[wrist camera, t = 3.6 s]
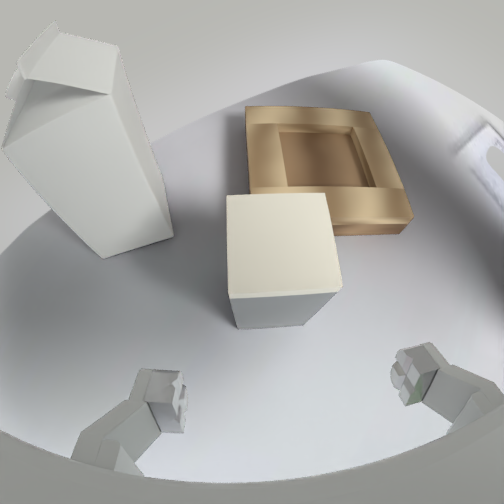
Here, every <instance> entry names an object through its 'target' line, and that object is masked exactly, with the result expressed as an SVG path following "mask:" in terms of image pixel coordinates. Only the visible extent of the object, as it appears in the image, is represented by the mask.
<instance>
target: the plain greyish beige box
mask: <svg viewBox="0 0 504 504" xmlns="http://www.w3.org/2000/svg"><path fill="white" fill-rule="evenodd" d="M226 202H227V265H228V295H229V299H230V302H231V306H232V310H233V314H234V317H235V321H236V325H237V329H259V328H275V327H289V326H301V325H304V324H305V323H306V322H307V321H308V320H309V319H310V318H312V317H313V316H314V315H315V314H316V313H317V312H318V311H319V310H320V309H321V308H322V307H323V306H324V305H325V304H326V303H327V302H328V301H329V300H330V299H331V298H332V297H333V296H334V295H335V294H336V293H337V292H338V291H339V290H340V289H341V288H342V287H343V284H342V278H341V272H340V266H339V260H338V255H337V249H336V244H335V239H334V234H333V229H332V224H331V219H330V214H329V210H328V205H327V200H326V196H325V193H277V194H247V195H226Z"/></svg>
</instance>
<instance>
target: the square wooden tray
mask: <svg viewBox="0 0 504 504" xmlns="http://www.w3.org/2000/svg"><path fill="white" fill-rule="evenodd" d="M245 129H246V145H247V162H248V178H249V194H277V193H325V196H326V200H327V205H328V210H329V214H330V219H331V224H332V229H333V234H334V236H348V235H380V234H400V232H401V231H402V230H403V229H404V228H405V227H406V226H407V225H408V224H409V222H410V221H411V220H412V219H413V218H414V215H413V212H412V209H411V206H410V203H409V201H408V198H407V195H406V192H405V190H404V187H403V185H402V182H401V180H400V177H399V175H398V172H397V170H396V167H395V165H394V163H393V160H392V158H391V156H390V154H389V151H388V149H387V147H386V145H385V143H384V141H383V138H382V136H381V134H380V132H379V130H378V128H377V126H376V124H375V122H374V120H373V118H372V116H371V114H370V112H363V111H354V110H344V109H333V108H318V107H296V106H246V107H245Z"/></svg>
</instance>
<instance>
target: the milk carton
mask: <svg viewBox="0 0 504 504" xmlns="http://www.w3.org/2000/svg"><path fill="white" fill-rule="evenodd" d="M16 64H17V67H18V68H17V69H16V71H15V73H14V74H13V76H12V78H11V80H10V83H9V85H8V88H7V91H6V95H5V97H6V98H8V99H13V100H15V101H16V102H15V105H14V108H13V111H12V113H11V117H10V120H9V123H8V126H7V129H6V133H5V137H4V140H3V145H2V151H3V152H4V154H5V155H6V156H7V158H8V159H9V160H10V161H11V163H12V164H13V165H14V166H15V168H16V169H17V170H18V171H19V173H20V174H21V175H22V176H23V177H24V178H25V179H26V181H27V182H28V183H29V184H30V185H31V187H32V188H33V189H34V190H35V191H36V192H37V193H38V194H39V195H40V197H41V198H42V199H43V200H44V201H45V202H46V203H47V204H48V205H49V206H50V208H51V209H52V210H53V211H54V212H55V213H56V214H57V215H58V216H59V217H60V218H61V219H62V220H63V221H64V222H65V223H66V224H67V225H68V226H69V227H70V228H71V229H72V230H73V231H74V232H75V233H76V234H77V235H78V236H79V237H80V238H81V239H82V240H83V241H84V242H85V243H86V244H87V245H88V246H89V247H90V248H91V249H92V250H93V251H94V252H96V253H97V254H98V255H99V256H100V257H101V258H102V259H105V258H108V257H111V256H114V255H117V254H120V253H123V252H126V251H129V250H133V249H136V248H139V247H142V246H145V245H149V244H152V243H155V242H158V241H161V240H165V239H168V238H171V237H174V233H173V227H172V223H171V218H170V213H169V208H168V203H167V197H166V192H165V186H164V181H163V177H162V175H161V172H160V169H159V167H158V164H157V161H156V159H155V156H154V153H153V151H152V148H151V145H150V142H149V140H148V137H147V134H146V131H145V128H144V126H143V123H142V120H141V117H140V114H139V111H138V108H137V105H136V102H135V100H134V96H133V93H132V90H131V87H130V84H129V81H128V78H127V75H126V71H125V68H124V65H123V62H122V58H121V55H120V51H119V48H118V46H114V45H111V44H108V43H104V42H100V41H96V40H92V39H89V38H84V37H80V36H75V35H71V34H66V33H61V32H60V31H59V28H58V25H57V22H56V20H55V21H53V22H52V23H51V24H50V25H49V26H48V27H47V28H46V29H45V30H44V31H43V32H42V33H41V34H40V35H39V36H38V37H37V38H36V40H35V41H34V42H33V43H32V44H31V45H30V46H29V48H28V49H27V50H26V51H25V52H24V53H23V54H22V56H21V57H20V58H19V59H18V60H17V62H16Z"/></svg>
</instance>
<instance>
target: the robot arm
mask: <svg viewBox="0 0 504 504" xmlns="http://www.w3.org/2000/svg"><path fill="white" fill-rule="evenodd" d="M395 358H396V360H397V361H396V362H395V363H394V365H393V366H392V369H391V381H392V384H393V386H394V387H395V388H397V389H398V390H400V391H399V397H400V398H401V400H402V402H403V404H404V406H408V405H412V404H415V403H418V402H422V403H424V404H425V405H427V406H428V407H429V408H431V409H432V410H434V411H435V412H437V413H438V414H440V415H441V416H443V417H444V418H445V419H447V420H448V421H450V422H451V423H453V424H452V425H451V427H450V428H449V429H448V431H447V433H446V434H447V435H445V436H443V437H441V438H439V439H436V440H434V441H432V442H429V443H427V444H424V445H422V446H419V447H417V448H414V449H412V450H409V451H406V452H403V453H401V454H398V455H395V456H392V457H389V458H386V459H382V460H379V461H376V462H372V463H369V464H365V465H361V466H357V467H353V468H349V469H345V470H340V471H336V472H331V473H326V474H320V475H315V476H308V477H302V478H294V479H286V480H277V481H265V482H247V483H205V482H187V481H176V480H166V479H158V478H151V477H144V475H143V473H142V472H141V471H140V470H139V468H138V467H137V466H136V465H135V463H134V462H135V461H136V460H137V459H138V458H139V457H140V456H141V455H142V454H143V453H144V452H145V451H146V450H147V449H148V447H149V446H150V445H151V444H152V443H153V442H154V441H155V440H156V439H157V438H158V436H159V435H160V434H161V432H165V433H184V428H185V421H186V419H185V416H184V412H185V411H186V410H187V406H188V394H187V389H186V386H185V385H183V379H184V378H183V375H182V372H181V371H172V370H156V369H154V370H152V369H141V370H140V371H139V372H138V375H137V378H136V380H135V383H134V386H133V389H132V391H131V394H130V397H129V400H124V401H123V402H121V403H120V404H119V405H117V406H116V407H115V408H113V409H112V410H111V411H109V412H108V413H107V414H105V415H104V416H103V417H101V418H100V419H98V420H97V421H96V422H94V423H93V424H92V425H90V426H89V427H87V428H86V429H85V430H83V431H82V432H81V433H80V435H79V438H78V440H77V443H76V446H75V448H74V451H73V453H72V456H71V459H69V458H66V457H63V456H60V455H57V454H54V453H52V452H49V451H46V450H44V449H41V448H39V447H36V446H34V445H31V444H29V443H27V442H25V441H22V440H20V439H18V438H16V437H14V436H12V435H10V434H8V433H6V432H4V431H2V430H0V504H504V394H503V393H502V392H501V391H500V389H499V388H498V387H497V386H496V384H495V383H494V382H492V381H489V380H487V379H485V378H482V377H480V376H478V375H476V374H473V373H471V372H469V371H466V370H464V369H462V368H460V367H457V366H455V365H450V364H449V363H448V362H447V361H446V359H445V358H444V357H443V356H442V355H441V353H440V352H439V351H438V350H437V348H436V347H435V346H434V345H433V344H432V343H430V342H428V343H424V344H420V345H416V346H412V347H408V348H404V349H400V350H399V351H398V352H397V354H396V357H395Z"/></svg>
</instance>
